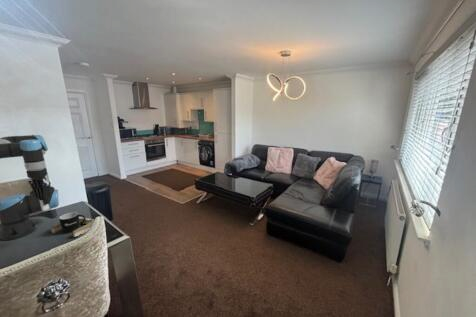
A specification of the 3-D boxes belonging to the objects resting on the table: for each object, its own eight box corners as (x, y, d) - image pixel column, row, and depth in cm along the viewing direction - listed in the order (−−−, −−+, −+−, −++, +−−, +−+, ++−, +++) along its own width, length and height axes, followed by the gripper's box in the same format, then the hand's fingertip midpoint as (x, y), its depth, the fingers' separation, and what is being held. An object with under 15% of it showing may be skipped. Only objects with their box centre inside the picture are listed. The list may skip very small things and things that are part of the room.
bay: (52, 233, 119) (50, 227, 119) (75, 221, 133) (74, 216, 132) (75, 238, 115) (74, 232, 114) (97, 225, 128) (96, 219, 127)
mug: (63, 236, 116) (59, 221, 114) (61, 230, 122) (58, 215, 120) (87, 228, 125) (85, 213, 123) (85, 222, 131) (82, 209, 129)
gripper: (18, 169, 101) (28, 211, 107) (36, 172, 98) (46, 214, 104) (36, 166, 108) (45, 205, 114) (53, 168, 105) (61, 208, 111)
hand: (45, 209), depth 109 cm, fingers closed
